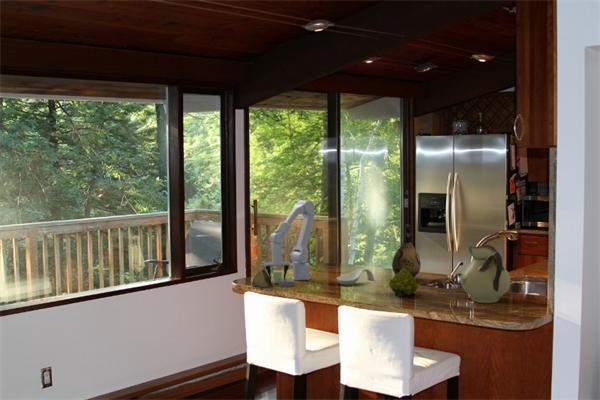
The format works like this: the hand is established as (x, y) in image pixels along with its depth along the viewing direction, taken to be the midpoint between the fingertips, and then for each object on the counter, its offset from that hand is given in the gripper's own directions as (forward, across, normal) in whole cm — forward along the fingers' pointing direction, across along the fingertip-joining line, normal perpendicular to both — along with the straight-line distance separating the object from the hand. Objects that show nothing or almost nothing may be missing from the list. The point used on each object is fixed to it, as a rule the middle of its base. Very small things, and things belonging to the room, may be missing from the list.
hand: (277, 279), depth 395 cm
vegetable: (+2, +61, -44) cm, 75 cm away
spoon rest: (+2, +42, -8) cm, 43 cm away
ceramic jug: (+2, +70, -2) cm, 71 cm away
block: (+2, 0, 0) cm, 2 cm away
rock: (+2, -8, -10) cm, 14 cm away
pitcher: (+2, +96, -64) cm, 115 cm away
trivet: (+2, +4, -10) cm, 11 cm away
